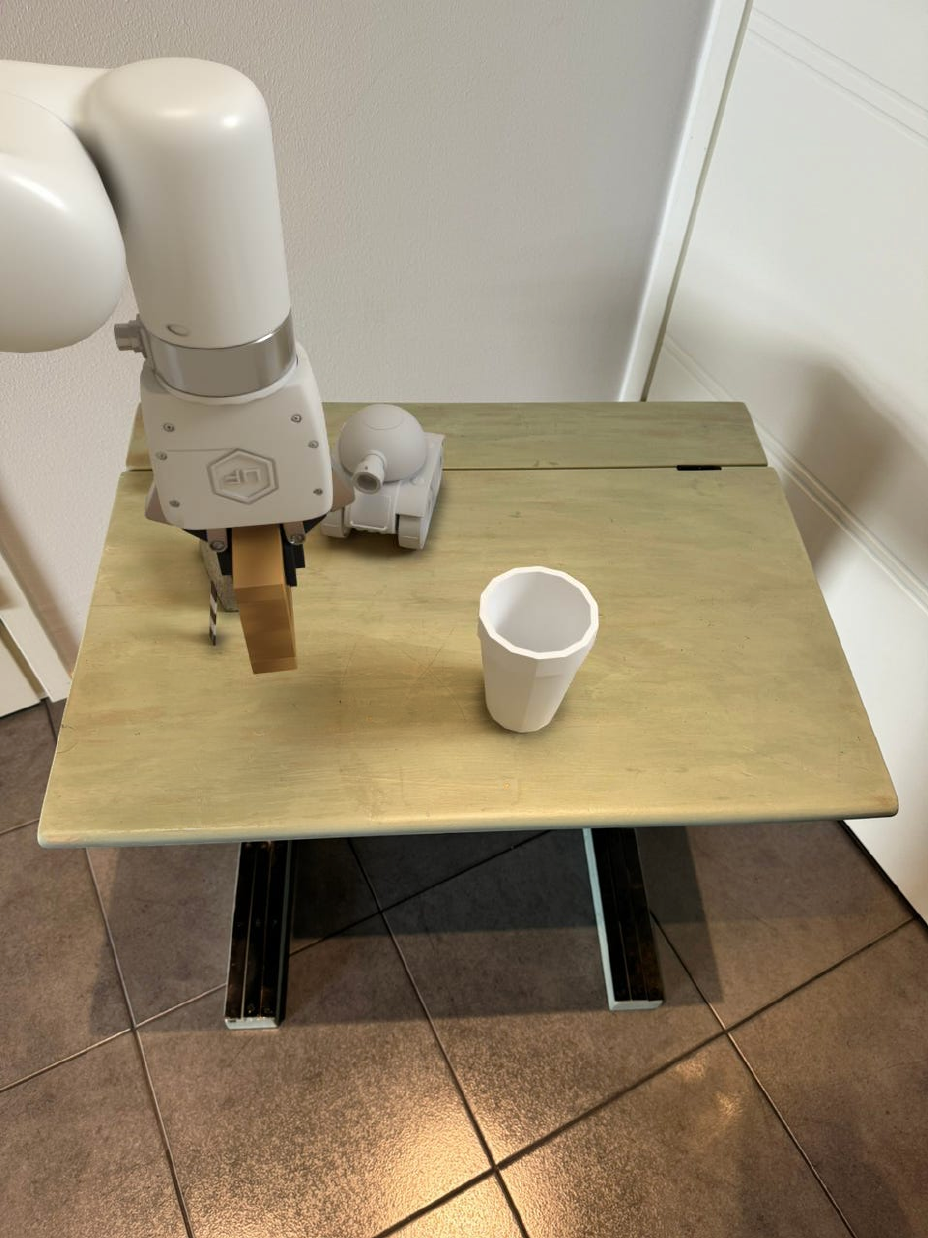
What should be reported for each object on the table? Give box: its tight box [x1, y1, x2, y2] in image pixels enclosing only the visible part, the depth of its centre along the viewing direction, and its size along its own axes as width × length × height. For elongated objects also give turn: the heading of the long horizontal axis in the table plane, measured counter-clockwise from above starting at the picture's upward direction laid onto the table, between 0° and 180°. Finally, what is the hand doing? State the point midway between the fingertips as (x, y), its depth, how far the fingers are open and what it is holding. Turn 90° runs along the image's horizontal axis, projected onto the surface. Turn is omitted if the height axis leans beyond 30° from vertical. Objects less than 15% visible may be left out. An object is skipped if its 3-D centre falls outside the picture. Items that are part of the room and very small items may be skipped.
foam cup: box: [476, 565, 600, 734], centre depth 70 cm, size 10×9×13 cm
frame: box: [232, 523, 298, 675], centre depth 57 cm, size 3×12×9 cm, turn 11°
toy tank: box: [319, 403, 446, 550], centre depth 84 cm, size 15×11×13 cm
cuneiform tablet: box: [198, 538, 238, 646], centre depth 79 cm, size 7×4×12 cm
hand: (265, 572), depth 58 cm, fingers closed on frame, 2 cm apart
